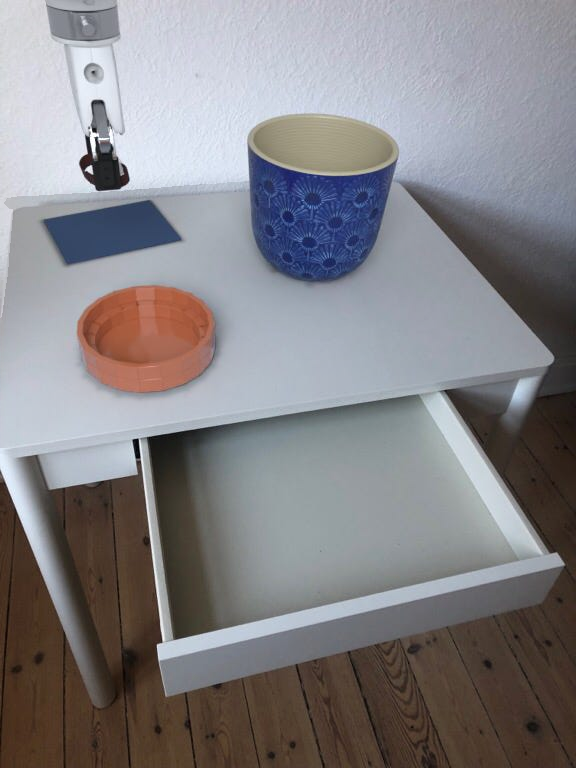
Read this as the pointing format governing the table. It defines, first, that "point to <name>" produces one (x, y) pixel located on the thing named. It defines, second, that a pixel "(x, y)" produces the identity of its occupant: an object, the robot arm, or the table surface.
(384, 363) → the table surface
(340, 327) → the table surface
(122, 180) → the watch
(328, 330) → the table surface
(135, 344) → the bowl
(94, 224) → the mat
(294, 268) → the planter
